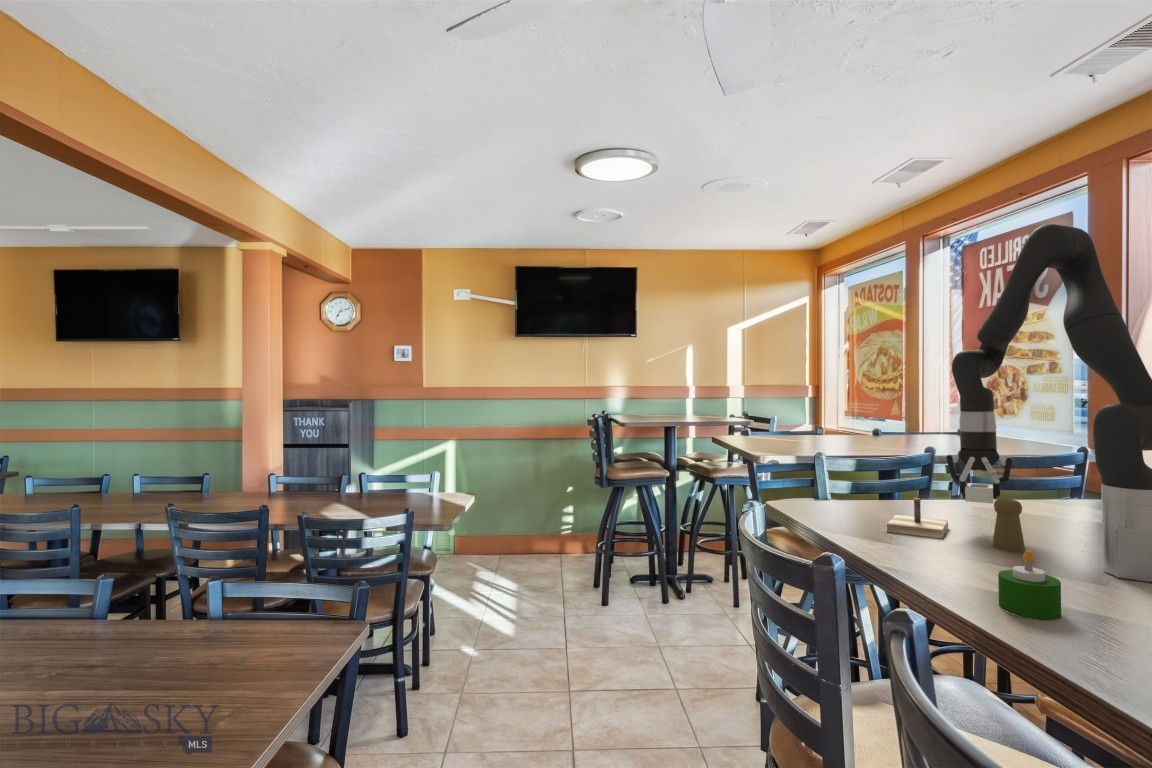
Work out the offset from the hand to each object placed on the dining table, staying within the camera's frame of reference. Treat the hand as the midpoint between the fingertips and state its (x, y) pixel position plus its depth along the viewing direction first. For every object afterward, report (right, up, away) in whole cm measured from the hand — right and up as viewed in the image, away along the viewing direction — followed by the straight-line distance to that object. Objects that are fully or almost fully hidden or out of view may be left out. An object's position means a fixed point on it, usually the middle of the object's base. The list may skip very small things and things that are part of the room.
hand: (980, 496), depth 147 cm
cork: (-3, -9, -13) cm, 17 cm away
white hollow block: (0, -1, 0) cm, 1 cm away
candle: (-25, -10, -49) cm, 56 cm away
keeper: (-13, -9, +4) cm, 17 cm away
